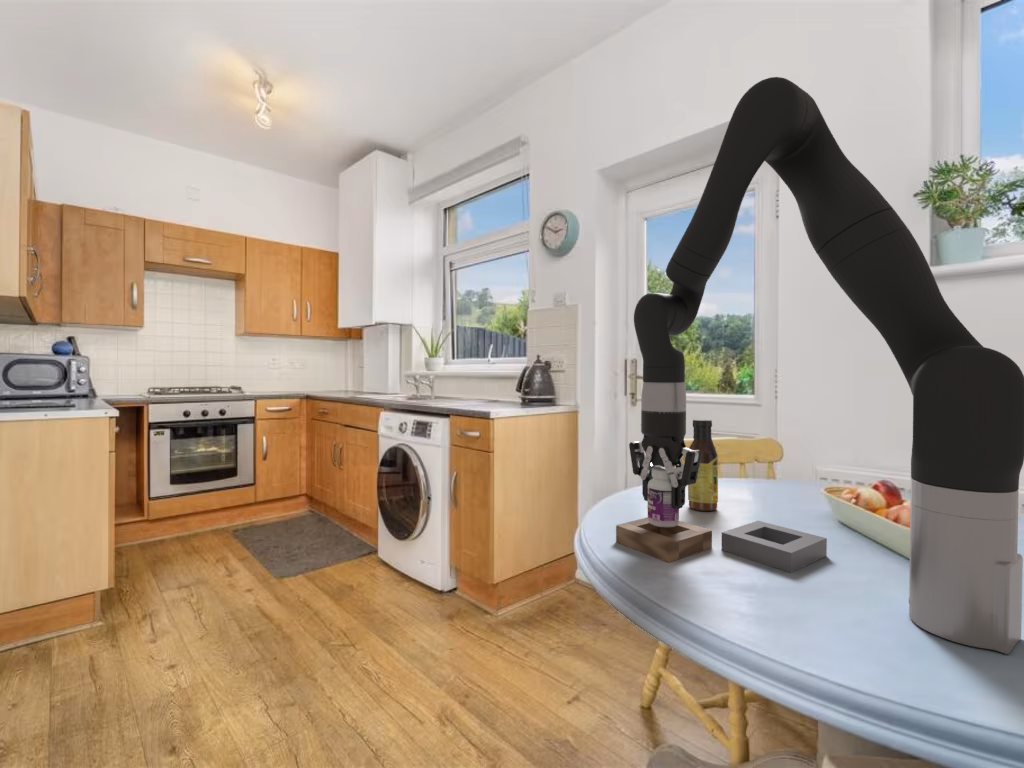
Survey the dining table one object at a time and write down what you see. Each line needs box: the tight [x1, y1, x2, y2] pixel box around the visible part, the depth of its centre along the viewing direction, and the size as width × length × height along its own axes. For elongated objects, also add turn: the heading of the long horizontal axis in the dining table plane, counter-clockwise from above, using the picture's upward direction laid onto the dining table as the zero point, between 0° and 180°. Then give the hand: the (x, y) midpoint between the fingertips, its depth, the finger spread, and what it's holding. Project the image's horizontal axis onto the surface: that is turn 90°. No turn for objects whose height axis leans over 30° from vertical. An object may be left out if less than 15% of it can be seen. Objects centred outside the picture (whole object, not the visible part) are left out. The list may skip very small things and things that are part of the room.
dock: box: [615, 516, 713, 563], centre depth 85 cm, size 12×12×3 cm
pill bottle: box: [647, 466, 680, 527], centre depth 85 cm, size 5×5×10 cm
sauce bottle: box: [687, 418, 719, 512], centre depth 108 cm, size 6×6×20 cm
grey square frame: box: [721, 520, 828, 573], centre depth 81 cm, size 12×12×3 cm
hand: (662, 503), depth 85 cm, fingers closed on pill bottle, 5 cm apart
